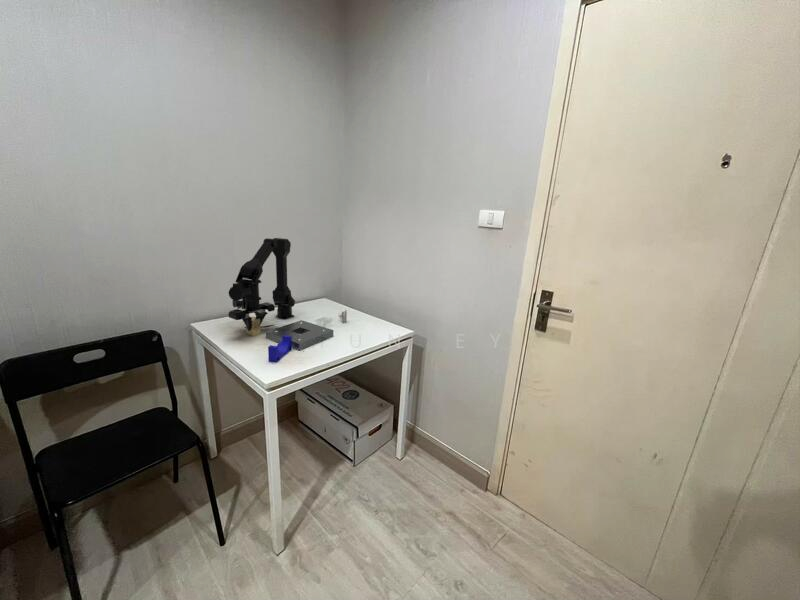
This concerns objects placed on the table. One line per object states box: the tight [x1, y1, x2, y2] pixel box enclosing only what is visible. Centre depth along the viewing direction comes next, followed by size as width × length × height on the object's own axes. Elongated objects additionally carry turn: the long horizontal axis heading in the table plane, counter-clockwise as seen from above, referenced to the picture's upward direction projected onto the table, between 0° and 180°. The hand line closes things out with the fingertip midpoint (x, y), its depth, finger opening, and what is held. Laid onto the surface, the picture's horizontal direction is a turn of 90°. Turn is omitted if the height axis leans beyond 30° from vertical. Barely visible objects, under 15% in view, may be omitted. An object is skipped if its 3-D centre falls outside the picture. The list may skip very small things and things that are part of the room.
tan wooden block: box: [245, 316, 261, 337], centre depth 143 cm, size 4×4×7 cm
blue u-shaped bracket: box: [267, 335, 293, 363], centre depth 125 cm, size 12×4×6 cm, turn 171°
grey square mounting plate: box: [265, 319, 334, 351], centre depth 144 cm, size 20×20×3 cm
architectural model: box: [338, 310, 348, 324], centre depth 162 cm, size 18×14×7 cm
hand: (253, 329), depth 144 cm, fingers closed on tan wooden block, 4 cm apart
